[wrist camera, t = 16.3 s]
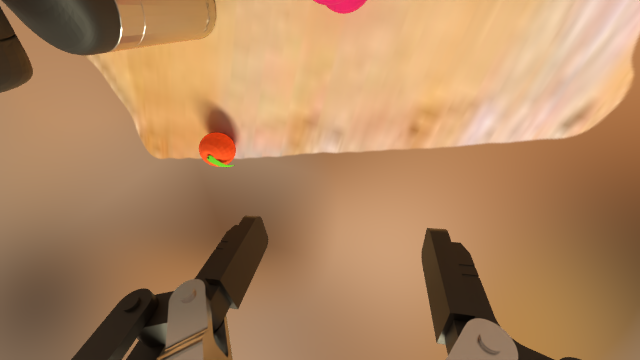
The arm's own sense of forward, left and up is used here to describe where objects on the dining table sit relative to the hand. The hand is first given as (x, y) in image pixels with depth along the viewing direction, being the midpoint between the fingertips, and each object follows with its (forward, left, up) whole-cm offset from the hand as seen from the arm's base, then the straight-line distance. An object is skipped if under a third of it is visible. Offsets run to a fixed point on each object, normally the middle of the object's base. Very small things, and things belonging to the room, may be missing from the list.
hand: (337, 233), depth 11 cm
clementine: (-20, -24, -33) cm, 46 cm away
